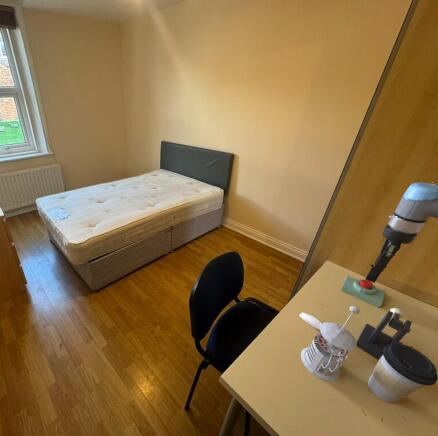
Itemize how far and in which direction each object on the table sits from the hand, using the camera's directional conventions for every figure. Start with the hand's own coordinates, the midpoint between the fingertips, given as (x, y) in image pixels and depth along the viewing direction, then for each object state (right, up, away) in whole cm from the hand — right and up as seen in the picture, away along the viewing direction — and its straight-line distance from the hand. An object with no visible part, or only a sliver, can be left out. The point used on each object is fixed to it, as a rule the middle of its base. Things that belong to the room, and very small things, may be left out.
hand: (370, 280), depth 89 cm
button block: (0, -6, +4) cm, 7 cm away
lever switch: (-8, -9, -16) cm, 20 cm away
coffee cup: (-22, -23, -26) cm, 41 cm away
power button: (0, -3, +2) cm, 3 cm away
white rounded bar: (-29, -13, -8) cm, 33 cm away
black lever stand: (-12, -17, -15) cm, 26 cm away
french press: (-35, -20, -20) cm, 45 cm away
